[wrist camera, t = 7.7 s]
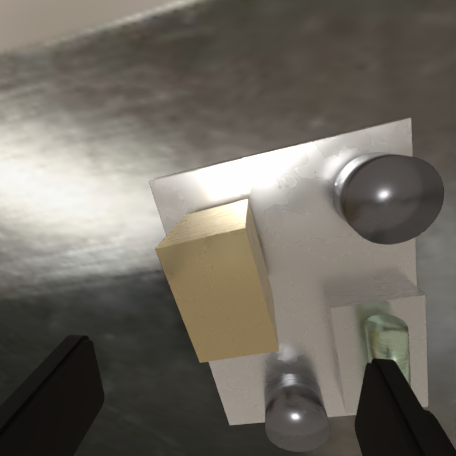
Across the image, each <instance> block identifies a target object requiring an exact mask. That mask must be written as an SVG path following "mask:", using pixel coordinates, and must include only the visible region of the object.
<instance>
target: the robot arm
mask: <svg viewBox="0 0 456 456" xmlns="http://www.w3.org/2000/svg"><path fill="white" fill-rule="evenodd" d="M103 402H104V391H103V387H102V382H101V378H100V373H99V369H98V364H97V360H96V355H95V351H94V346H93V342H92V341H90V340H89V337H88V336H83V335H69V336H67V337H66V338H65V339H64V340H63V341H62V342H61V343H60V344H59V346H58V347H57V348H56V349H55V350H54V351H53V352H52V353H51V354H50V355H49V356H48V357H47V358H46V359H45V360H44V361H43V362H42V363H41V364H40V365H39V366H38V367H37V369H36V370H35V371H34V372H33V373H32V374H31V375H30V376H29V377H28V378H27V379H26V380H25V381H24V382H23V383H22V384H21V385H20V386H19V387H18V388H17V389H16V390H15V392H14V393H13V394H12V395H11V396H10V397H9V398H8V399H7V400H6V401H5V402H4V403H3V404H2V405H1V406H0V456H73V455H74V453H75V452H76V450H77V448H78V446H79V445H80V443H81V441H82V440H83V438H84V436H85V434H86V433H87V431H88V429H89V428H90V426H91V424H92V423H93V421H94V419H95V417H96V416H97V414H98V412H99V411H100V409H101V407H102V405H103ZM355 431H356V435H357V439H358V442H359V445H360V448H361V452H362V455H363V456H456V450H455V448H454V447H453V445H452V443H451V442H450V440H449V438H448V437H447V435H446V433H445V432H444V430H443V429H442V427H441V425H440V424H439V422H438V420H437V419H436V418H435V416H434V415H433V414H432V413H431V412H430V411H427V410H424V409H423V408H422V406H421V404H420V402H419V401H418V399H417V397H416V395H415V394H414V392H413V390H412V389H411V387H410V385H409V383H408V382H407V380H406V378H405V377H404V375H403V373H402V371H401V370H400V368H399V366H398V364H397V363H396V362H395V361H394V360H392V359H379V358H373V359H372V362H371V363H367V364H366V367H365V372H364V377H363V383H362V388H361V393H360V398H359V403H358V408H357V413H356V418H355Z"/></svg>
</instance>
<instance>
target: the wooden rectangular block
mask: <svg viewBox="0 0 456 456" xmlns="http://www.w3.org/2000/svg"><path fill="white" fill-rule="evenodd" d="M155 250H156V252H157V255H158V257H159V260H160V263H161V265H162V268H163V270H164V273H165V275H166V278H167V280H168V283H169V285H170V288H171V290H172V293H173V296H174V298H175V301H176V303H177V306H178V308H179V311H180V313H181V316H182V318H183V321H184V323H185V326H186V329H187V331H188V334H189V336H190V339H191V341H192V344H193V346H194V349H195V351H196V354H197V356H198V359H199V362H200V363H202V362H209V361H215V360H222V359H228V358H235V357H241V356H248V355H254V354H261V353H267V352H274V351H279V344H278V335H277V326H276V318H275V309H274V300H273V292H272V288H271V284H270V280H269V277H268V273H267V269H266V265H265V262H264V258H263V254H262V250H261V246H260V243H259V239H258V235H257V231H256V228H255V224H254V220H253V216H252V213H251V209H250V205H249V201H248V199H246V200H242V201H238V202H234V203H230V204H226V205H222V206H219V207H215V208H211V209H207V210H203V211H199V212H195V213H191V214H187V215H184V216H183V217H182V218H181V219H180V221H179V222H178V223H177V224H176V225H175V226H174V228H173V229H172V230H171V231H170V232H169V233H168V235H167V236H166V237H165V238H164V239H163V241H162V242H161V243H160V244H159V245H158V246H157V248H156V249H155Z"/></svg>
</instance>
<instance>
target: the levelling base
mask: <svg viewBox="0 0 456 456" xmlns="http://www.w3.org/2000/svg"><path fill="white" fill-rule="evenodd" d="M149 185H150V188H151V191H152V194H153V197H154V200H155V203H156V206H157V209H158V212H159V215H160V218H161V221H162V224H163V227H164V230H165V233H166V236H167V235H168V233H169V232H170V231H171V230H172V229H173V228H174V226H175V225H176V224H177V223H178V222H179V221H180V219H181V218H182V217H183V216H184V215H187V214H191V213H195V212H199V211H203V210H207V209H211V208H215V207H219V206H222V205H226V204H230V203H234V202H238V201H242V200H246V199H248V201H249V205H250V209H251V213H252V216H253V220H254V224H255V228H256V231H257V235H258V239H259V243H260V246H261V250H262V254H263V258H264V262H265V265H266V269H267V273H268V277H269V280H270V284H271V288H272V292H273V300H274V309H275V318H276V326H277V335H278V344H279V351H274V352H267V353H261V354H254V355H248V356H241V357H235V358H228V359H222V360H215V361H209V364H210V367H211V370H212V373H213V376H214V379H215V382H216V385H217V388H218V391H219V394H220V397H221V400H222V403H223V406H224V409H225V412H226V415H227V418H228V421H229V424H230V425H237V424H249V423H261V422H265V429H266V434H267V436H268V438H269V439H270V440H271V441H272V442H273V443H274V444H275V445H277V446H278V447H280V448H283V449H285V450H289V451H296V452H304V451H310V450H313V449H316V448H318V447H320V446H321V445H323V444H324V443H325V442H326V441H327V440H328V438H329V436H330V425H329V421H328V417H335V416H347V415H356V413H357V408H358V403H359V398H360V393H361V388H362V383H363V377H364V372H365V367H366V364H367V363H371V362H372V359H373V358H379V359H392V360H394V361H395V362H396V363H397V364H398V366H399V368H400V370H401V371H402V373H403V375H404V377H405V378H406V380H407V382H408V383H409V385H410V387H411V389H412V390H413V392H414V394H415V395H416V397H417V399H418V401H419V402H420V404H421V406H422V407H428V380H427V338H426V295H425V294H424V293H423V292H422V291H421V290H420V289H419V288H418V287H417V276H416V247H415V237H416V236H418V235H420V234H421V233H422V232H424V231H425V230H426V229H427V228H428V227H429V226H430V225H431V224H432V223H433V222H434V220H435V219H436V217H437V216H438V214H439V212H440V210H441V207H442V204H443V199H444V187H443V182H442V180H441V177H440V175H439V174H438V172H437V171H436V170H435V168H434V167H433V166H431V165H430V164H429V163H427V162H426V161H424V160H422V159H419V158H416V157H412V130H411V118H403V119H396V120H392V121H388V122H384V123H379V124H375V125H371V126H367V127H363V128H359V129H355V130H351V131H347V132H343V133H339V134H334V135H330V136H326V137H322V138H318V139H314V140H310V141H306V142H302V143H298V144H294V145H289V146H285V147H281V148H277V149H273V150H269V151H265V152H261V153H257V154H253V155H249V156H244V157H240V158H236V159H232V160H228V161H224V162H220V163H216V164H212V165H208V166H203V167H199V168H195V169H191V170H187V171H183V172H179V173H175V174H171V175H167V176H163V177H158V178H155V179H153V180H151V181H149Z"/></svg>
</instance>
